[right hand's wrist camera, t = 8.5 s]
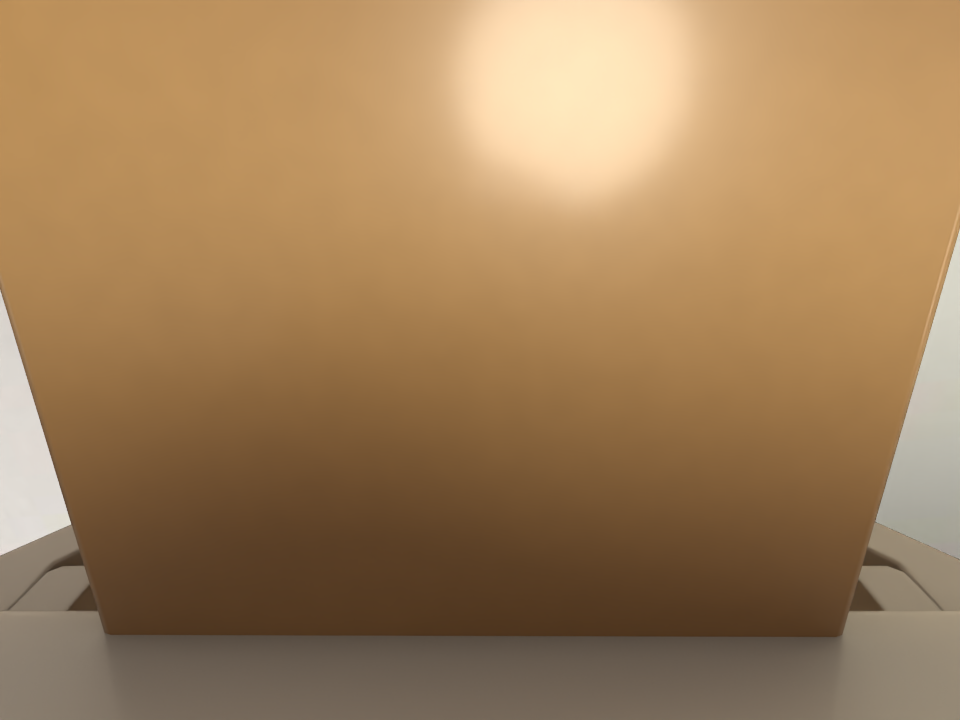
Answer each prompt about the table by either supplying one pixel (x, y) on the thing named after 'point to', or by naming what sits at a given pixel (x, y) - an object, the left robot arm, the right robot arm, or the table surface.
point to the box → (475, 303)
